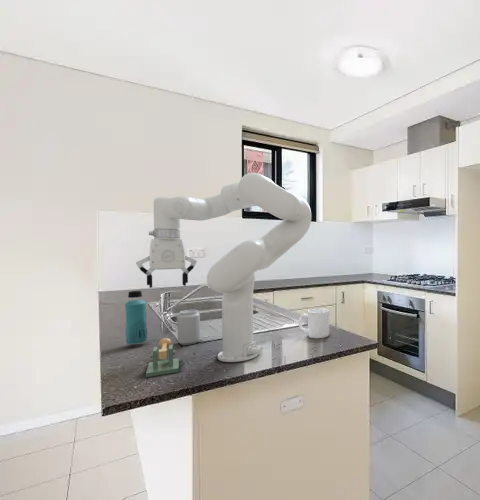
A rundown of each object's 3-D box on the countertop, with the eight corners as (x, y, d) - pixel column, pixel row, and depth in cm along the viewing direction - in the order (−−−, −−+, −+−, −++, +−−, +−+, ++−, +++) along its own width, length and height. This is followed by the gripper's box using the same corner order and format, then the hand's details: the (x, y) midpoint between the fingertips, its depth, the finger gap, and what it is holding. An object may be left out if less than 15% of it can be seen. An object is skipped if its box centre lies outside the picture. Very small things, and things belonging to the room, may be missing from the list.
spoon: (159, 348, 117) (158, 337, 117) (171, 346, 118) (171, 336, 118) (155, 362, 103) (155, 350, 103) (170, 360, 105) (169, 348, 105)
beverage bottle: (139, 348, 126) (138, 292, 126) (121, 348, 126) (119, 292, 126) (151, 342, 133) (150, 289, 132) (134, 342, 133) (132, 289, 132)
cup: (327, 338, 137) (327, 312, 136) (296, 338, 137) (296, 312, 136) (330, 332, 145) (330, 308, 145) (301, 333, 145) (300, 308, 145)
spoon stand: (149, 366, 108) (148, 345, 108) (179, 361, 112) (178, 341, 112) (145, 377, 99) (145, 354, 99) (178, 372, 103) (178, 350, 103)
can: (198, 344, 130) (197, 312, 130) (175, 346, 128) (174, 313, 127) (202, 339, 137) (201, 308, 137) (180, 340, 135) (179, 309, 135)
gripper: (135, 234, 109) (136, 289, 110) (197, 235, 119) (198, 285, 120) (135, 234, 116) (136, 286, 116) (194, 235, 125) (195, 283, 126)
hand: (167, 286), depth 118 cm, fingers open, 9 cm apart
